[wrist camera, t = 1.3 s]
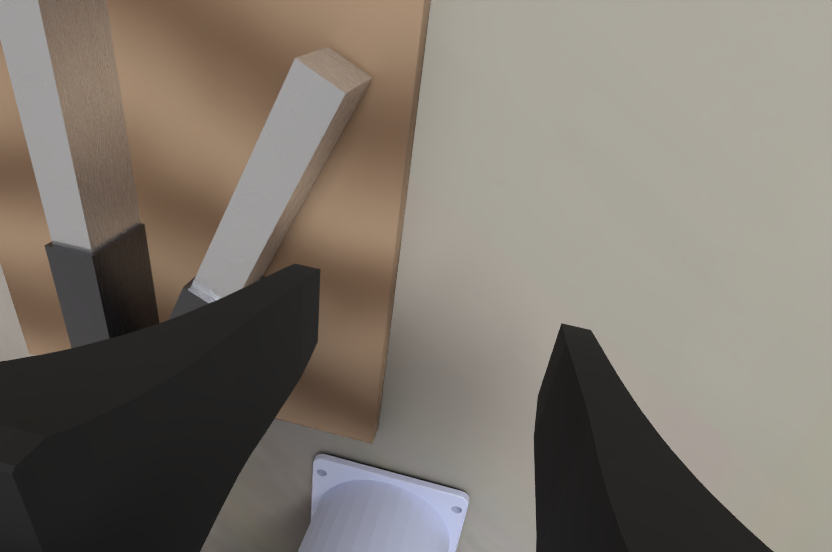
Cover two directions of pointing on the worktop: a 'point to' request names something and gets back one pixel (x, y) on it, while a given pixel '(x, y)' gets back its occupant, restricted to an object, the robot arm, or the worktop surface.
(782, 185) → the worktop surface
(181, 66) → the board
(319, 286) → the robot arm
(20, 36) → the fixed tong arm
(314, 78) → the bar
